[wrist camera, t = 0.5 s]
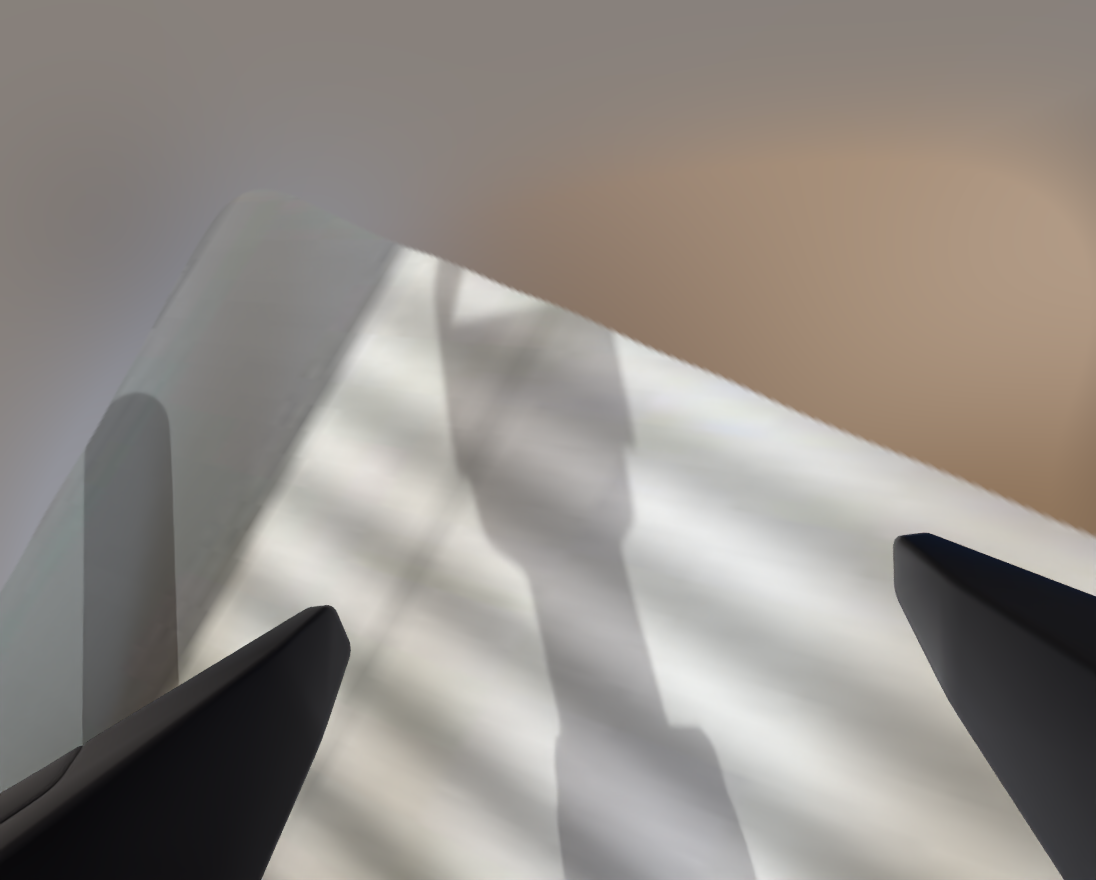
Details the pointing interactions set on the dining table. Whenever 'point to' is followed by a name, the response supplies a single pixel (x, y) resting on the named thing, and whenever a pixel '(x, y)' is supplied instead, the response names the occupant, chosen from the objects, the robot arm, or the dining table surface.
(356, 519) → the dining table surface
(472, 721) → the dining table surface
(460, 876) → the dining table surface
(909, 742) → the dining table surface
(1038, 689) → the robot arm
